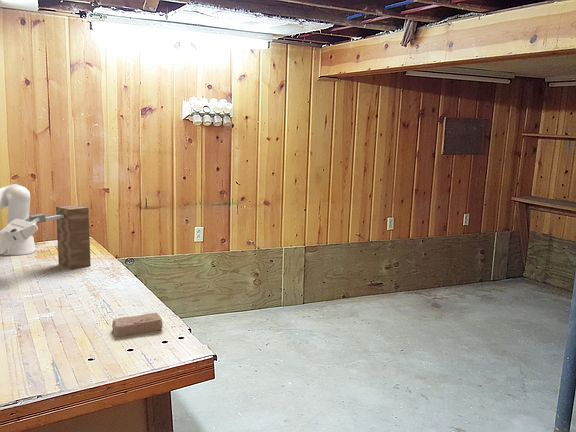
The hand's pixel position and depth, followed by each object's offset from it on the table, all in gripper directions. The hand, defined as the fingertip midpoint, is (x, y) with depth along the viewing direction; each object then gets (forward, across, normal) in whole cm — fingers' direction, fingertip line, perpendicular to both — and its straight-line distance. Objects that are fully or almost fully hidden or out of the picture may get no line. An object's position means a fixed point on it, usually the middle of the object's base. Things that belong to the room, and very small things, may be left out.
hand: (35, 217), depth 253 cm
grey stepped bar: (+4, 0, -5) cm, 6 cm away
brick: (-25, +99, -18) cm, 104 cm away
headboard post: (+3, 0, -34) cm, 34 cm away
